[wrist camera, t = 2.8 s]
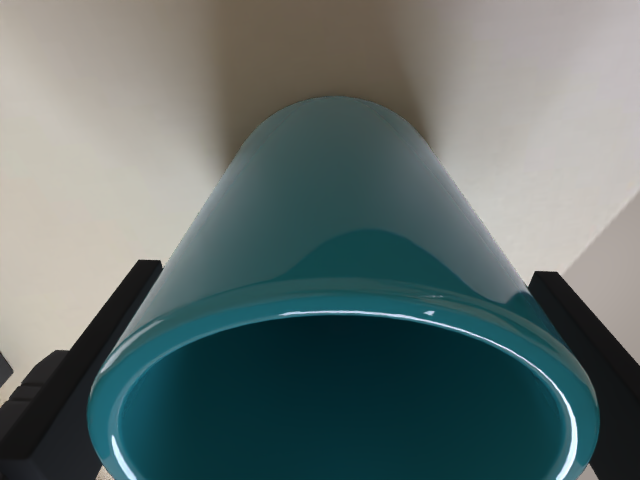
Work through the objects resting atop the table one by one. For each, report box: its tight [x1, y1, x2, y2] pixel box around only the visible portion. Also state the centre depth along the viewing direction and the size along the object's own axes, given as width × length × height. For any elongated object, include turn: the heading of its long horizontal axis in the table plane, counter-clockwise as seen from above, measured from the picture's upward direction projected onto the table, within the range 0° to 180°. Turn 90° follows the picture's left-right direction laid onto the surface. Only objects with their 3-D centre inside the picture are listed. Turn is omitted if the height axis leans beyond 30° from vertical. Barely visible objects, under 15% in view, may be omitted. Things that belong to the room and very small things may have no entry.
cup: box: [86, 96, 601, 480], centre depth 12 cm, size 9×12×11 cm
